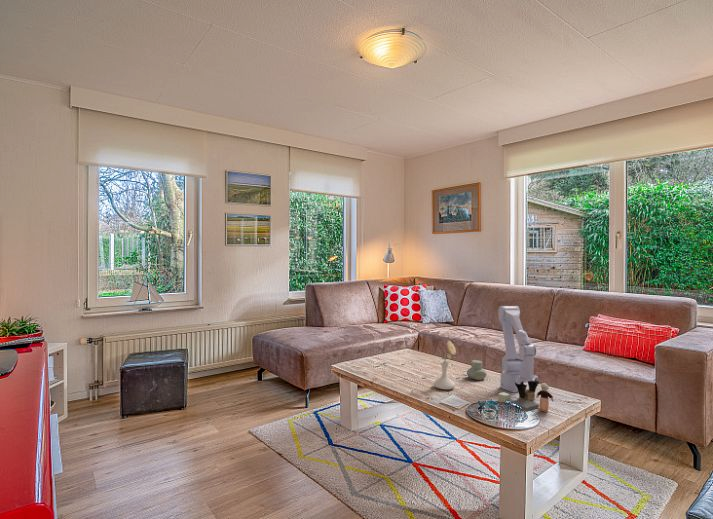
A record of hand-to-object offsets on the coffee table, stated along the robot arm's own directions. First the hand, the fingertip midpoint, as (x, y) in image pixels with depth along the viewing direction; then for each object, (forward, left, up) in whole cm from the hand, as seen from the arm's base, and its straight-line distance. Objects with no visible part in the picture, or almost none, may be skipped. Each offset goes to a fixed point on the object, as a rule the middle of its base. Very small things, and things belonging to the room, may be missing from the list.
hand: (526, 396), depth 198 cm
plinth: (+5, -9, -1) cm, 11 cm away
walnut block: (0, 0, -2) cm, 2 cm away
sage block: (-3, -13, -2) cm, 13 cm away
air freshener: (-36, +4, -2) cm, 36 cm away
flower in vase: (-33, -23, -2) cm, 40 cm away
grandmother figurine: (+14, -6, -2) cm, 15 cm away
